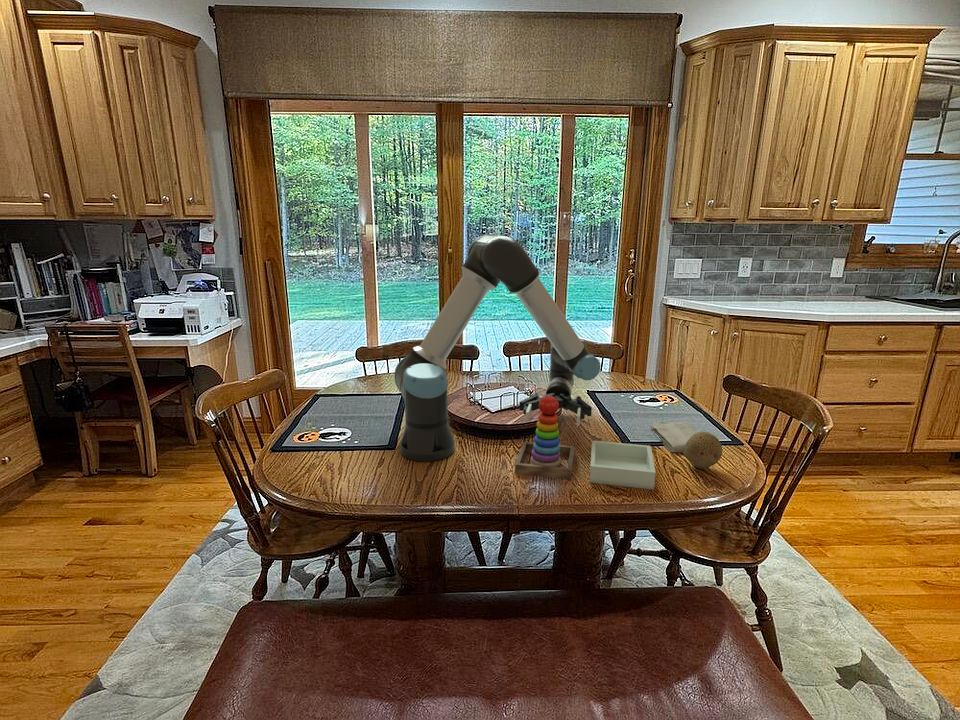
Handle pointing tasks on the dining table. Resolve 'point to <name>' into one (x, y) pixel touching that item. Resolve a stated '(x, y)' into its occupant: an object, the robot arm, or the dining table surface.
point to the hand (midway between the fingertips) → (552, 419)
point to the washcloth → (673, 434)
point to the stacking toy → (547, 434)
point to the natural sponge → (703, 450)
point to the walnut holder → (545, 470)
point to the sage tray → (622, 465)
